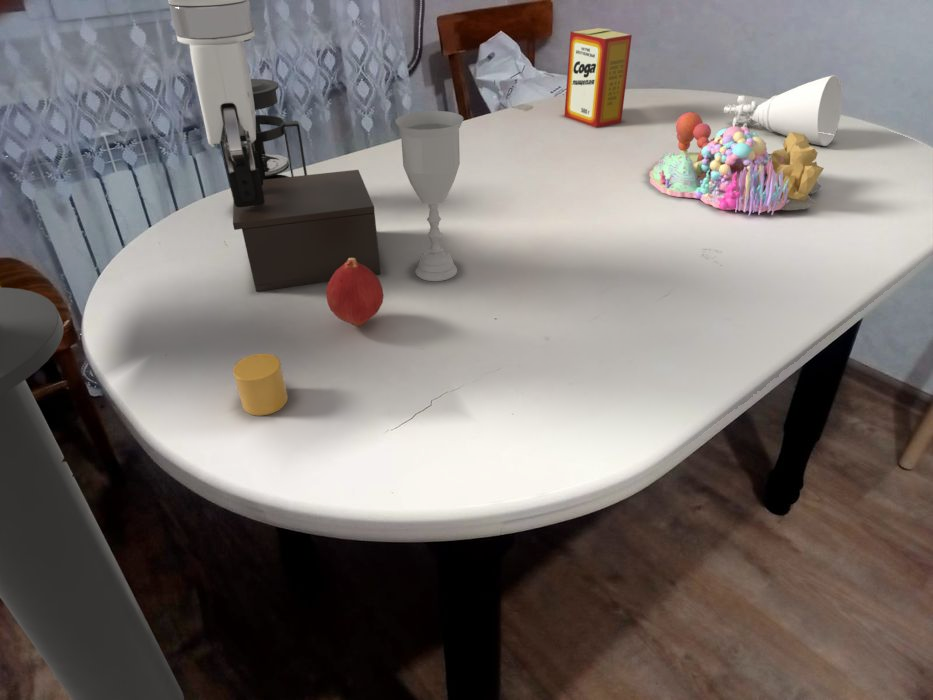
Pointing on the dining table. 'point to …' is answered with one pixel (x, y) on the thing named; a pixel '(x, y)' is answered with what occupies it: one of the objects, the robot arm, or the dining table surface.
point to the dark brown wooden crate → (310, 250)
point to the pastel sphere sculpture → (738, 169)
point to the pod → (260, 384)
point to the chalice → (431, 176)
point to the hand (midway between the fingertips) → (249, 194)
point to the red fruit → (354, 293)
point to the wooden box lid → (306, 200)
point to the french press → (269, 132)
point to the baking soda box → (597, 76)
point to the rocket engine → (797, 111)
